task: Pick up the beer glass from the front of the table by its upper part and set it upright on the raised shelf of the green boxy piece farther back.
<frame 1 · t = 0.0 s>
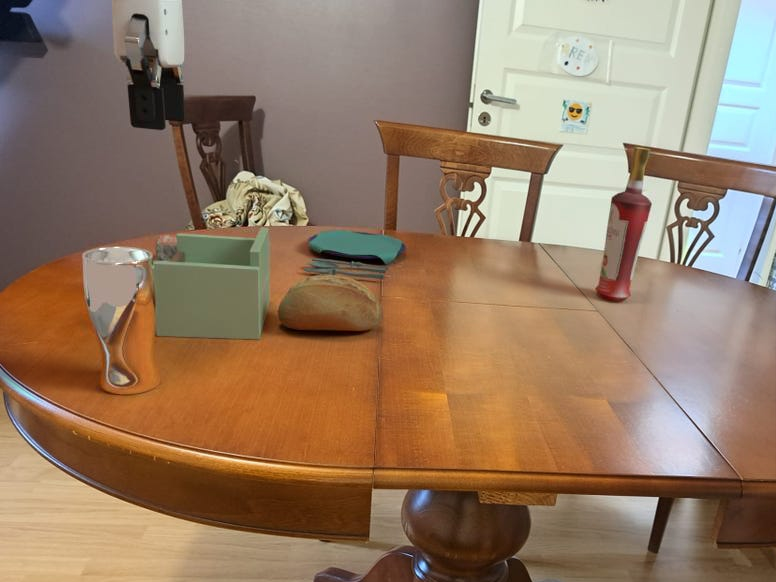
hand: (160, 124, 72), 28 cm above the table, tool pointing down, fingers open, 9 cm apart
packaged product: (212, 265, 118), on the table
liquor: (611, 299, 129), on the table
cutlery set: (353, 259, 133), on the table
green boxy piece: (218, 317, 96), on the table
beer glass: (131, 384, 75), on the table
bread roll: (330, 330, 97), on the table
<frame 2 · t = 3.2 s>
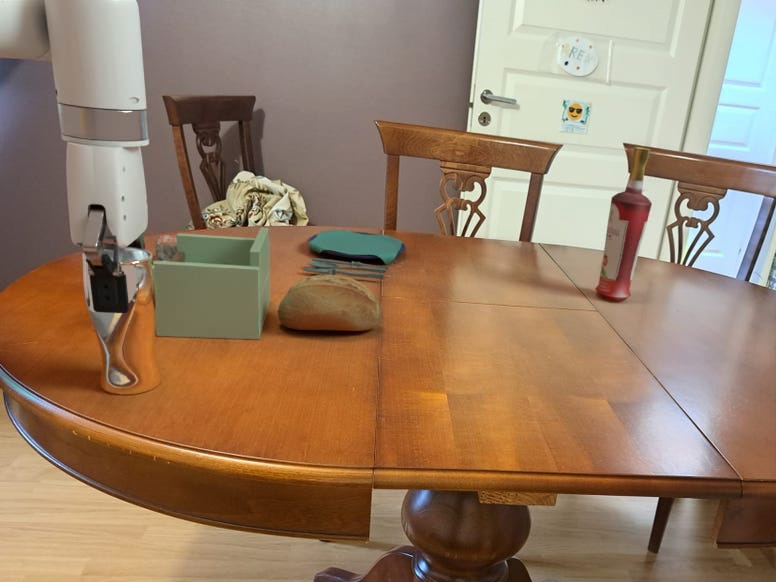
hand: (122, 298, 71), 10 cm above the table, tool pointing down, fingers closed on beer glass, 7 cm apart
beer glass: (131, 384, 75), on the table, touching gripper
everything else where it was.
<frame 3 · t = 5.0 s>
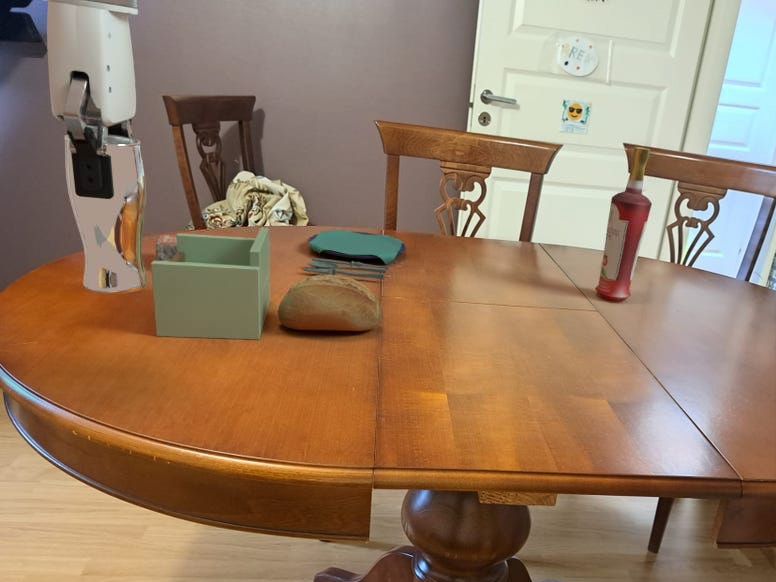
hand: (107, 188, 67), 22 cm above the table, tool pointing down, fingers closed on beer glass, 7 cm apart
beer glass: (116, 286, 71), point 11 cm above the table, touching gripper
everything else where it was.
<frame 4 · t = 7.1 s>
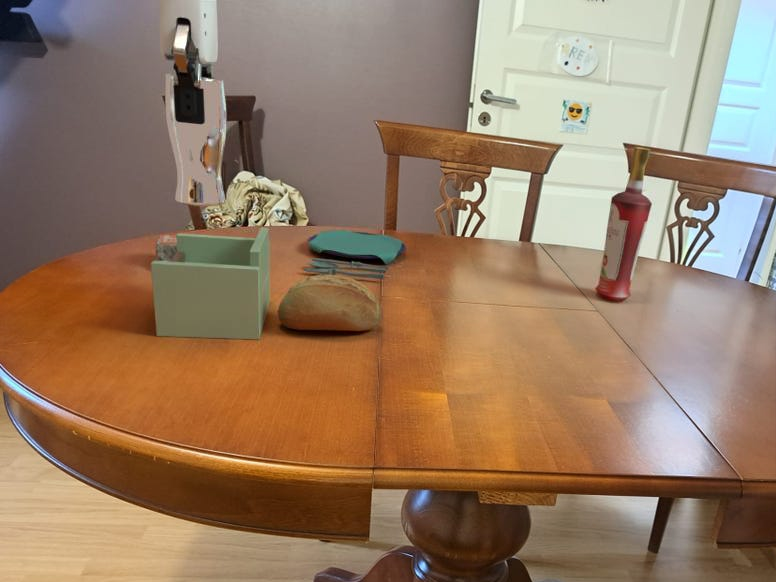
hand: (196, 119, 82), 27 cm above the table, tool pointing down, fingers closed on beer glass, 7 cm apart
beer glass: (200, 202, 86), point 17 cm above the table, touching gripper
everything else where it was.
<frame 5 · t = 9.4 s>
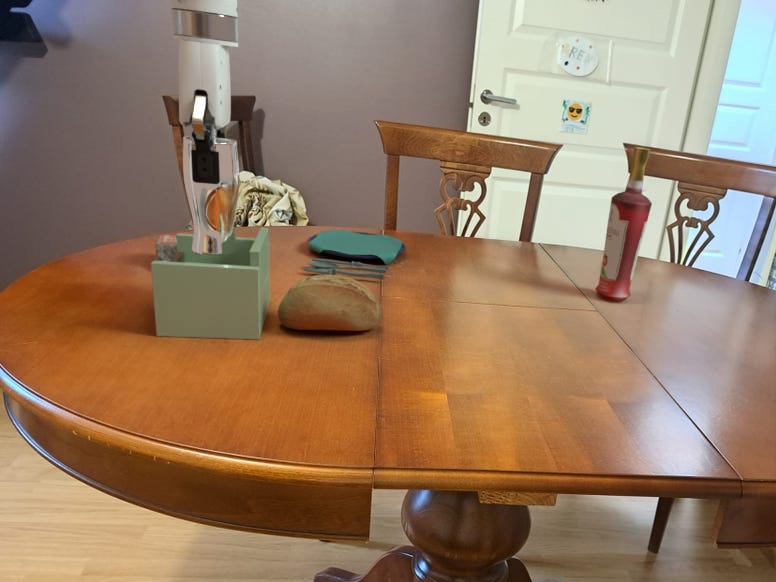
hand: (211, 176, 88), 20 cm above the table, tool pointing down, fingers closed on beer glass, 7 cm apart
beer glass: (215, 252, 92), point 10 cm above the table, touching gripper
everything else where it was.
when the fingers open (16 cm above the table, at t = 11.1 s): beer glass stays where it is, resting on green boxy piece.
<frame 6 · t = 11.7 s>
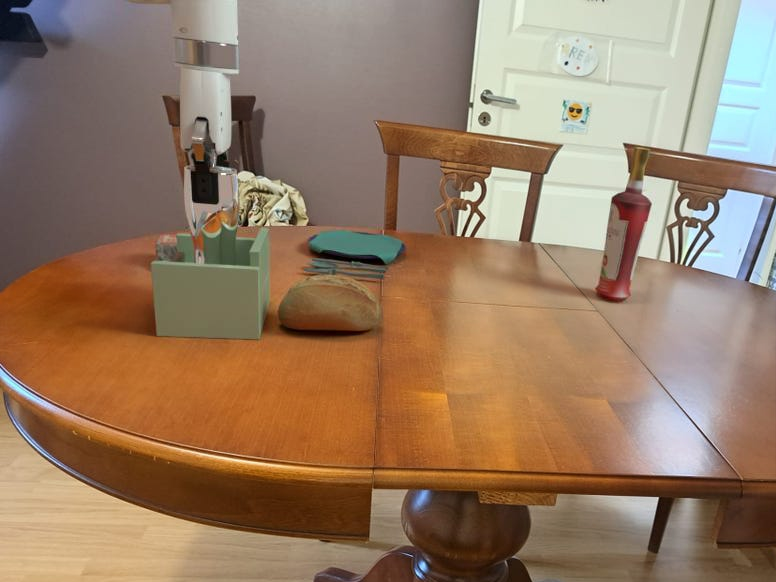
hand: (212, 196, 89), 17 cm above the table, tool pointing down, fingers open, 9 cm apart
beer glass: (215, 278, 94), point 6 cm above the table, touching green boxy piece
everything else where it was.
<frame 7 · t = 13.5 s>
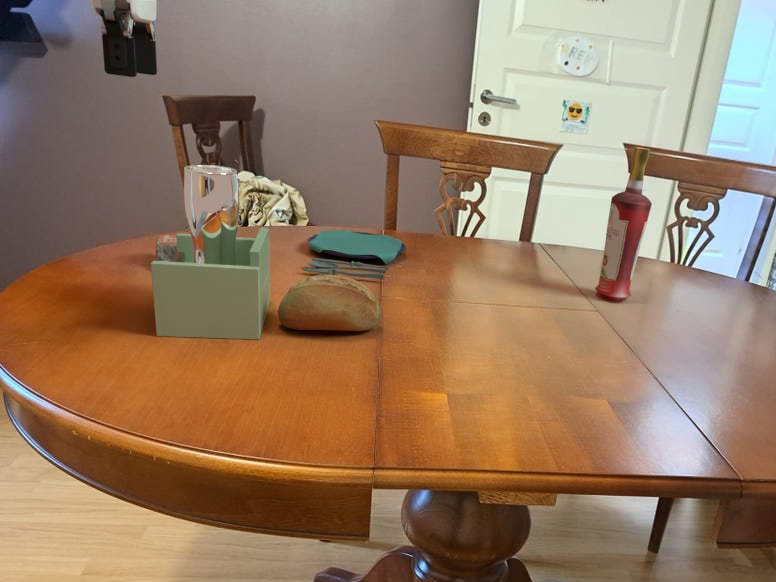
hand: (132, 74, 80), 32 cm above the table, tool pointing down, fingers open, 9 cm apart
nothing on the table moved.
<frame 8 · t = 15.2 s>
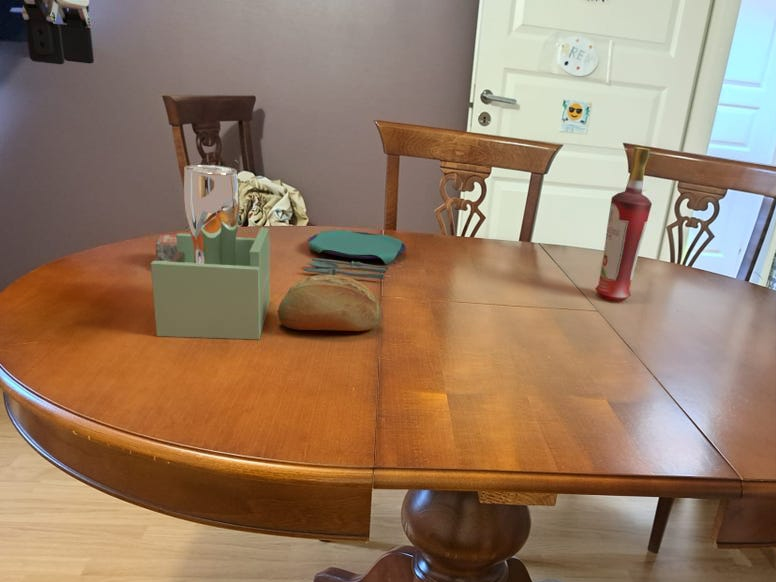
hand: (64, 62, 77), 32 cm above the table, tool pointing down, fingers open, 9 cm apart
nothing on the table moved.
at the end: beer glass inside the target area on the green boxy piece (0.1 cm from its centre), point 5.8 cm above the green boxy piece's base; beer glass tilted 0°; the gripper is holding nothing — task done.
